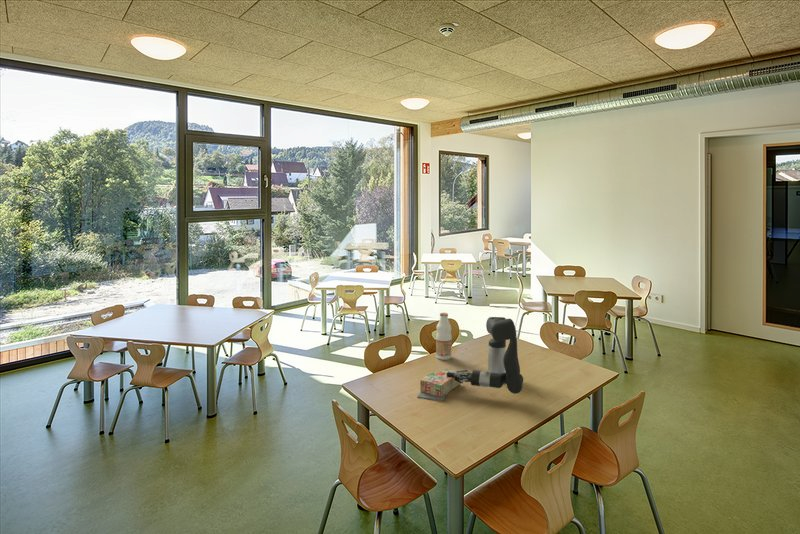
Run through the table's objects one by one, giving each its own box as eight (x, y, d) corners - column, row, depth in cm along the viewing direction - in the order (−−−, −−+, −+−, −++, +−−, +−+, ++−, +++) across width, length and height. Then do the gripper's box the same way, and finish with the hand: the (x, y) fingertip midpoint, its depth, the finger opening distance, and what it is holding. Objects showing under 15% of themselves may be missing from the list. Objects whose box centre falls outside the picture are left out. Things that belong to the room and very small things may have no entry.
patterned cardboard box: (461, 383, 243) (441, 378, 251) (461, 372, 242) (441, 367, 250) (440, 397, 226) (419, 391, 233) (440, 385, 225) (419, 379, 233)
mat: (454, 382, 246) (454, 381, 245) (443, 401, 223) (443, 400, 223) (430, 379, 250) (430, 378, 250) (417, 397, 227) (417, 396, 227)
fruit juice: (433, 358, 283) (434, 314, 279) (439, 354, 291) (439, 311, 287) (448, 361, 279) (448, 316, 275) (453, 356, 287) (453, 312, 283)
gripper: (483, 366, 233) (450, 363, 239) (479, 376, 221) (443, 372, 227) (483, 380, 234) (450, 376, 240) (478, 391, 222) (443, 386, 228)
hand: (447, 374), depth 233 cm, fingers closed
